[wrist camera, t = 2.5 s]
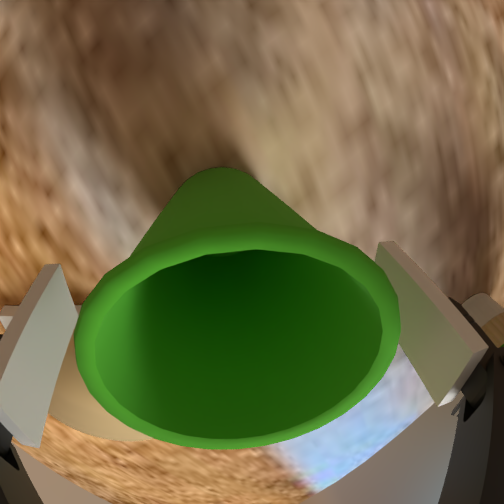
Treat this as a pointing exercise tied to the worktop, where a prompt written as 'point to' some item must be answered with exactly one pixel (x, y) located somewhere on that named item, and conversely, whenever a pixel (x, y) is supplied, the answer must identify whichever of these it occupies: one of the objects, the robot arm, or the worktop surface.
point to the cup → (235, 322)
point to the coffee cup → (487, 316)
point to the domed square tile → (79, 398)
